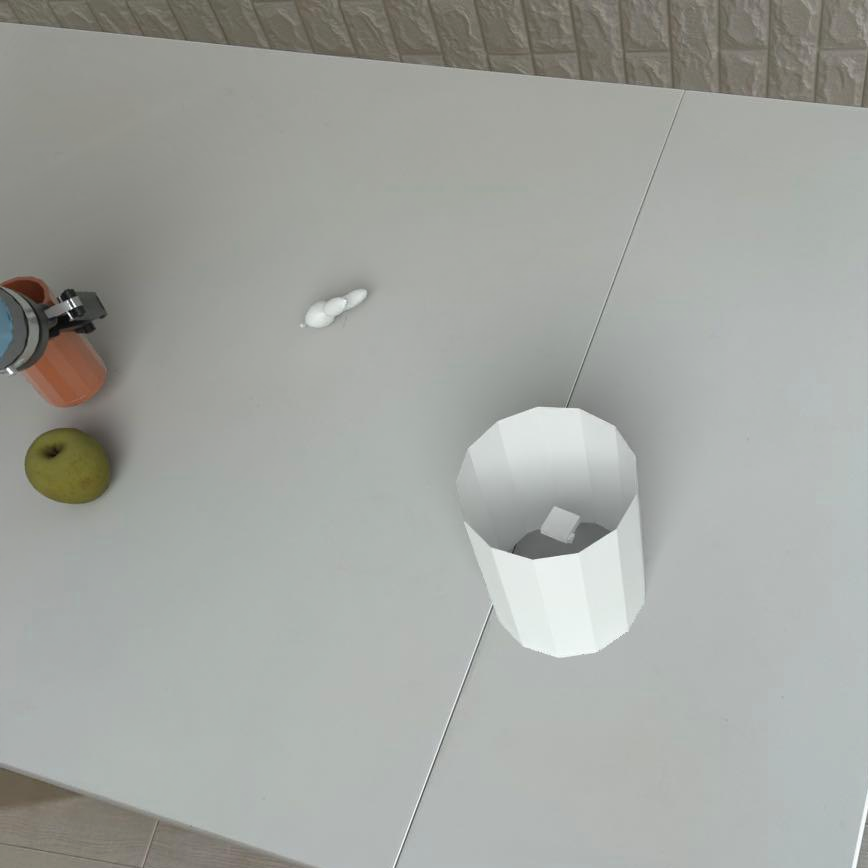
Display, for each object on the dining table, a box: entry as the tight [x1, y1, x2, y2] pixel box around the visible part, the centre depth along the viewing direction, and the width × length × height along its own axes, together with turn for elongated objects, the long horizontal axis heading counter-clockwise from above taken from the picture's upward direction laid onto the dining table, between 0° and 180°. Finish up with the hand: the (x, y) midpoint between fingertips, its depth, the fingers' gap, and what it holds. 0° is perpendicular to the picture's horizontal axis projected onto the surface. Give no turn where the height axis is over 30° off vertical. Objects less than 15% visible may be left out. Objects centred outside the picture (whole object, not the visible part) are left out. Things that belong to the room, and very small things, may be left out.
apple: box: [23, 427, 111, 505], centre depth 108 cm, size 8×8×7 cm
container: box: [454, 406, 646, 659], centre depth 90 cm, size 14×14×18 cm
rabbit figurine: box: [299, 288, 368, 329], centre depth 117 cm, size 6×4×8 cm
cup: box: [0, 275, 107, 409], centre depth 109 cm, size 7×7×12 cm
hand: (48, 337), depth 112 cm, fingers closed on cup, 7 cm apart
